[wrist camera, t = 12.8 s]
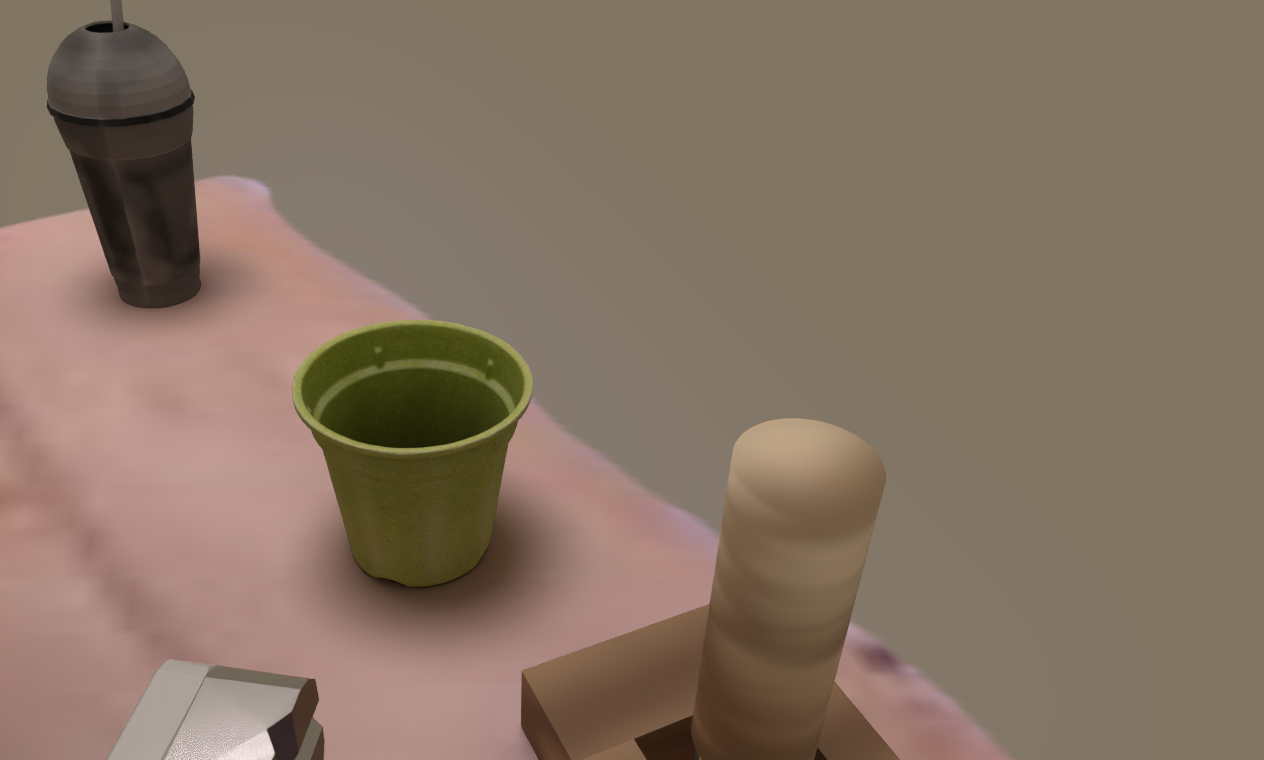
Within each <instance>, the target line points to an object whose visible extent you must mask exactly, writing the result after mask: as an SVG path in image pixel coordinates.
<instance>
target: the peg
mask: <svg viewBox="0 0 1264 760" xmlns="http://www.w3.org/2000/svg"><path fill="white" fill-rule="evenodd" d="M885 480H886V473H885V468H884V466H883V463H882V461H881V459H880V457H879V456H878V455H877V454H876V452H875V451H874V450H873V449H872V448H871V447H870V446H869V445H868V444H867V443H866V442H864V441H863V440H862V439H860V438H859V437H857V436H856V435H854V434H852V433H850V432H848V431H846V430H844V429H842V428H839V427H837V426H834V425H831V424H828V423H824V422H820V421H815V420H809V419H797V418H794V419H793V418H788V419H777V420H771V421H767V422H764V423H761V424H758V425H756V426H754V427H752V428H750V429H749V430H747V431H746V432H744V433H743V434H742V435H741V436H740V437H739V439H738V440H737V442H736V444H735V446H734V449H733V454H732V461H731V467H730V473H729V480H728V487H727V493H726V500H725V507H724V513H723V520H722V527H721V533H720V539H719V546H718V553H717V559H716V566H715V572H714V579H713V586H712V592H711V599H710V605H709V612H708V619H707V625H706V632H705V638H704V645H703V652H702V658H701V665H700V671H699V678H698V685H697V691H696V698H695V704H694V711H693V718H692V726H691V732H692V739H693V743H694V746H695V748H696V751H695V756H694V760H814V758H815V754H816V750H817V747H818V743H819V739H820V735H821V731H822V727H823V723H824V719H825V715H826V712H827V708H828V704H829V700H830V696H831V692H832V688H833V684H834V680H835V677H836V673H837V669H838V665H839V661H840V657H841V653H842V649H843V645H844V641H845V638H846V634H847V630H848V626H849V622H850V618H851V614H852V610H853V606H854V603H855V599H856V595H857V590H858V587H859V583H860V579H861V575H862V571H863V567H864V564H865V560H866V556H867V552H868V548H869V544H870V540H871V536H872V532H873V528H874V525H875V520H876V517H877V513H878V509H879V505H880V501H881V497H882V493H883V489H884V485H885V482H886V481H885Z"/></svg>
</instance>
